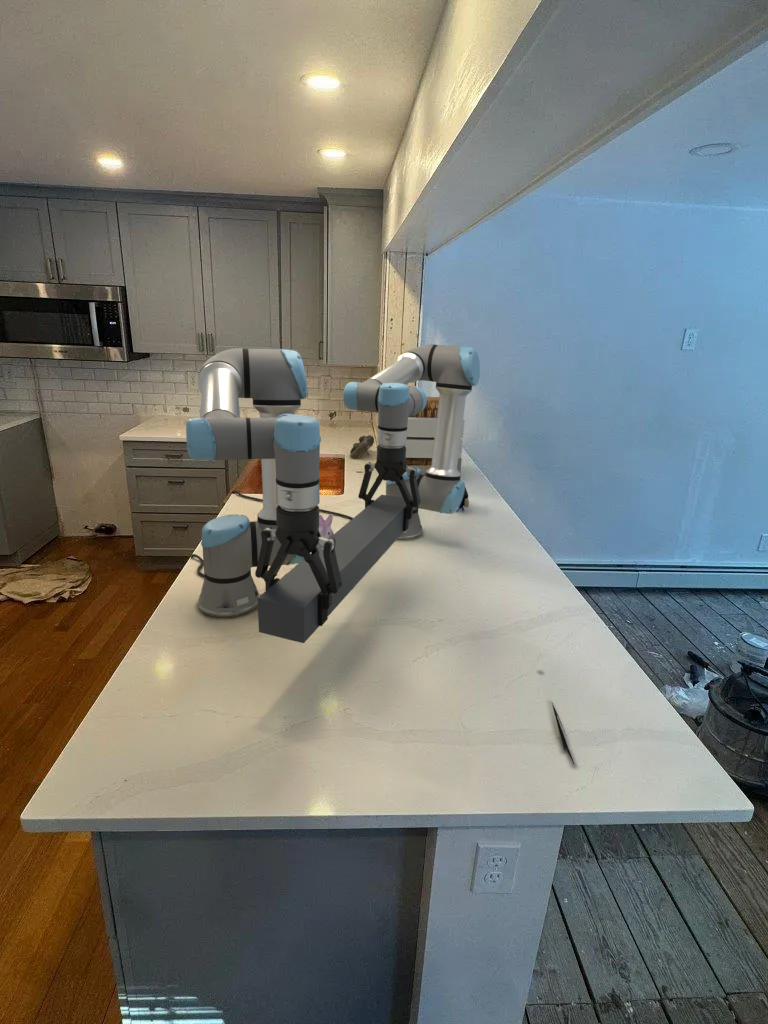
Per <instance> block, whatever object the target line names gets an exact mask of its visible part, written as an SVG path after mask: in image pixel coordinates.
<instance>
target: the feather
mask: <svg viewBox="0 0 768 1024" xmlns="http://www.w3.org/2000/svg"><path fill="white" fill-rule="evenodd" d="M540 673H542V670H540ZM551 705H552V709H553V713H554V716H555V721H556V725H557V728H558V732H559V737H560V740H561V742H562V745H563V750H564V751H566V752H567V754H568V755H569V757H570V760H571V762H572V764H573V765H574V764H575V762H574V760H573V759H574V758H573V757H572V754H573V755H574V752H572V753H571V751H570V748H571V750H573V748H574V747H572V746H571V747H570V748H569V745H568V743H570V740H569V738H568V734H567V731H566V730H565V727H564V725H563V723H562V721H561V718H560V716H559V714H558V712H557V710H556V707H555V704H554V703H553V702H551ZM565 736H566V737H565ZM567 742H568V743H567Z"/></svg>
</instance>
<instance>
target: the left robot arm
mask: <svg viewBox="0 0 768 1024" xmlns="http://www.w3.org/2000/svg"><path fill="white" fill-rule="evenodd" d="M302 358H303V357H302V356H301V354H300V353H299V351H297V350H293V349H285V348H284V349H283V348H242V347H235V348H229V349H225V350H222V351H220V352H218V353H216V354H215V355H212V356H211V357H210V358H208V360H206V361H205V362H204V364H203V365H202V366H201V367H200V369H199V371H198V375H197V387H198V390H199V392H200V394H201V395H200V396H201V399H200V412H199V416H198V417H192V418H189V419H188V420H187V421H186V424H185V430H186V431H185V433H186V435H185V436H186V449H187V454H188V456H189V458H190V459H192V460H194V461H208V462H214V461H233V460H235V461H236V460H237V461H238V460H261V461H260V462H261V481H262V482H261V483H262V484H261V485H262V486H261V487H262V499H263V502H262V509H261V510H259V512H258V513H257V521H250V519H249V517H248V516H246V515H244V514H235V513H234V514H226V515H221V516H218V517H215V518H213V519H211V520H209V521H208V522H206V523H205V524H204V525H203V527H202V528H201V540H200V541H201V542H200V545H201V547H202V557H201V556H200V555H198V554H196V553H193V554H191V555H190V558H196V559H198V560H199V561H200V565H198V567H197V569H196V572H197V574H198V575H199V576H202V577H203V582H202V586H201V591H200V594H199V596H198V608H199V610H200V611H201V612H202V613H203V614H205V615H207V616H210V617H214V618H235V617H239V616H242V615H246V614H248V613H250V612H252V611H253V610H254V609H257V608H258V597H259V596H260V594H259V590H258V588H257V586H256V583H255V581H254V578H253V576H252V568H255V574H254V576H255V577H256V578H258V579H260V578H261V579H262V580H263V581H264V582H265V583H264V585H265V586H264V587H265V591H266V590H268V589H269V588H270V587H271V586H272V585H274V584H275V583H276V582H277V581H278V580H280V579H281V578H279V577H277V576H278V573H279V572H280V569H281V568H282V566H290V565H298V564H299V563H300V562H301V561H302V560H304V559H305V561H306V562H307V563H308V564H309V566H310V568H311V570H312V572H313V574H314V576H315V578H316V581H317V583H318V585H319V587H320V589H321V592H320V593H319V594H318V626H319V627H323V626H324V624H325V623H326V622H327V620H328V618H329V616H328V609H329V608H330V607H331V605H332V593H334V594H336V593H337V592H338V591H339V590H340V589H341V588H342V586H343V585H342V580H341V576H340V571H339V567H338V562H337V558H336V553H335V544H336V540H335V538H330V539H327V538H323V537H321V535H320V533H319V515H320V511H319V509H320V507H319V504H320V502H321V501H320V498H321V497H320V456H321V455H320V453H321V442H322V436H321V431H320V430H321V429H320V422H319V420H318V418H316V417H313V416H310V415H305V414H296V412H297V411H298V410H299V409H300V408H301V407H302V400H304V399H306V398H307V397H308V384H307V376H306V370H305V366H304V362H303V359H302ZM239 399H252V406H253V408H254V409H255V410H256V411H257V412H258V413H259V417H241V415H240V413H241V412H240V402H239V401H240V400H239ZM318 544H320V545H321V550H322V551H323V556H324V561H325V565H326V569H327V571H326V569H325V567H324V565H323V563H322V561H321V559H320V557H319V551H318V549H317V547H316V546H317V545H318ZM202 567H203V572H201V568H202Z"/></svg>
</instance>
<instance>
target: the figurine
mask: <svg viewBox="0 0 768 1024" xmlns="http://www.w3.org/2000/svg"><path fill="white" fill-rule="evenodd" d="M333 520H334V514H330V513H329V515H328V516H327V518H326V519H324V517H323V515H322V514H319V533H320V535H321V537H323V538H327V539H329V538H330V537H331V536H333V535H334V534H335V533H334V531H333V529H332V523H333ZM319 546H320V544H318V545H317V546H316V547H317V548H318V547H319Z"/></svg>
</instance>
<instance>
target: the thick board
mask: <svg viewBox="0 0 768 1024" xmlns="http://www.w3.org/2000/svg"><path fill="white" fill-rule="evenodd" d="M412 500H413V499H412ZM405 507H406V503H405V501H404V499H403V498H401V497H394V496H388V495H386V494H380V495H379V496H378V497H376V499H374V501H373V502H372V503H371V504H370V505H369V506H367V507H366V508H365V507H364V509H362V510H361V511H360V512H359V513H357V514H356V515H355V516H353V517H352V518H353V519H352V520H351V519H350V521H348V522H347V523H345V524H344V525H343V526H342V527H341V528H340V529H339V530H338V531H336V532H335V533H334V535H333V536H331V537H330V538H335V540H336V544H335V553H336V558H337V562H338V567H339V571H340V576H341V580H342V585H343V586H342V588H341V589H340V590H339V591H338V592H337V593H336V594H334V593H332V605H331V607H330V608H329V609H328V617H329V616H330V615H331V614H332V613H333V612H334V611H335V609H336V608H337V607H338V606H339V605H340V604H341V603H342V601H343V600H344V599H345V598H346V597H347V596H348V595H349V594H350V593H351V591H352V590H354V588H355V587H356V586H357V585H358V584H359V583H360V582H361V580H363V578H364V577H365V576H366V575H367V574H368V573H369V571H370V570H371V569H372V568H374V566H375V564H377V563H378V561H379V560H380V559H382V557H383V555H385V554H386V552H387V551H388V550H389V549H390V548H391V547H392V546H393V545H394V543H396V541H398V540H397V539H398V538H399V536H400V535H401V534H402V533H403V532H404V531H403V518H404V508H405ZM411 521H412V518H411V519H409V525H410V524H411ZM409 525H408V526H409ZM330 538H329V539H330ZM317 549H318V551H319V557H320V559H321V561H322V563H323V565H324V567H325V569H326V565H325V561H324V556H323V551H322V550H321V545H320V546H319V547H318V548H317ZM326 571H327V569H326ZM279 579H280V580H278V581H277V582H276V583H275V584H274V585H272V586H271V587H270V588H269V589H268V590H266V589H265V591H264V592H263V593H261V594H259V597H258V605H257V619H258V633H259V634H260V633H261V634H265V635H268V636H271V637H276V638H281V639H285V640H287V641H288V640H289V641H292V642H296V643H300V644H305V643H306V642H307V641H308V640H309V639H310V637H312V635H314V633H315V632H316V631H317V629H318V628H319V627H320V626H318V594H319V593H320V592H321V589H320V587H319V585H318V583H317V581H316V578H315V576H314V574H313V572H312V570H311V568H310V566H309V564H308V563H307V562H306V561H305V559H304V560H302V561H301V562H300V563H298V564H295V566H294V567H293V568H291V569H290V570H289V571H288V572H287V573H285V574H284V575H283V576H282V577H280V578H279Z"/></svg>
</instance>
